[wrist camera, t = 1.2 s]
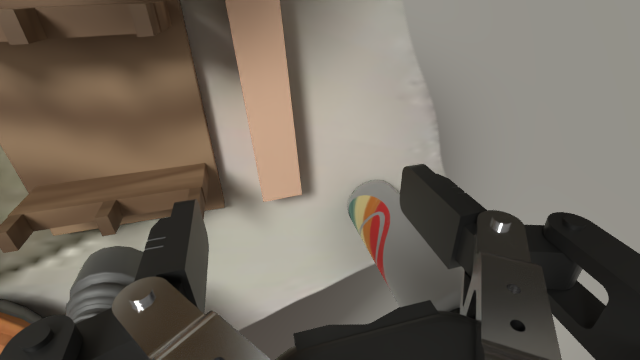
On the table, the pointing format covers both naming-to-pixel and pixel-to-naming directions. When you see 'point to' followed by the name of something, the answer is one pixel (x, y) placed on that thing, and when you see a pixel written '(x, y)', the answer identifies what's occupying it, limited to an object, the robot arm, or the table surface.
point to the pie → (14, 320)
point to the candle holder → (102, 281)
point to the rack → (100, 115)
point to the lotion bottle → (402, 250)
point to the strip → (266, 93)
